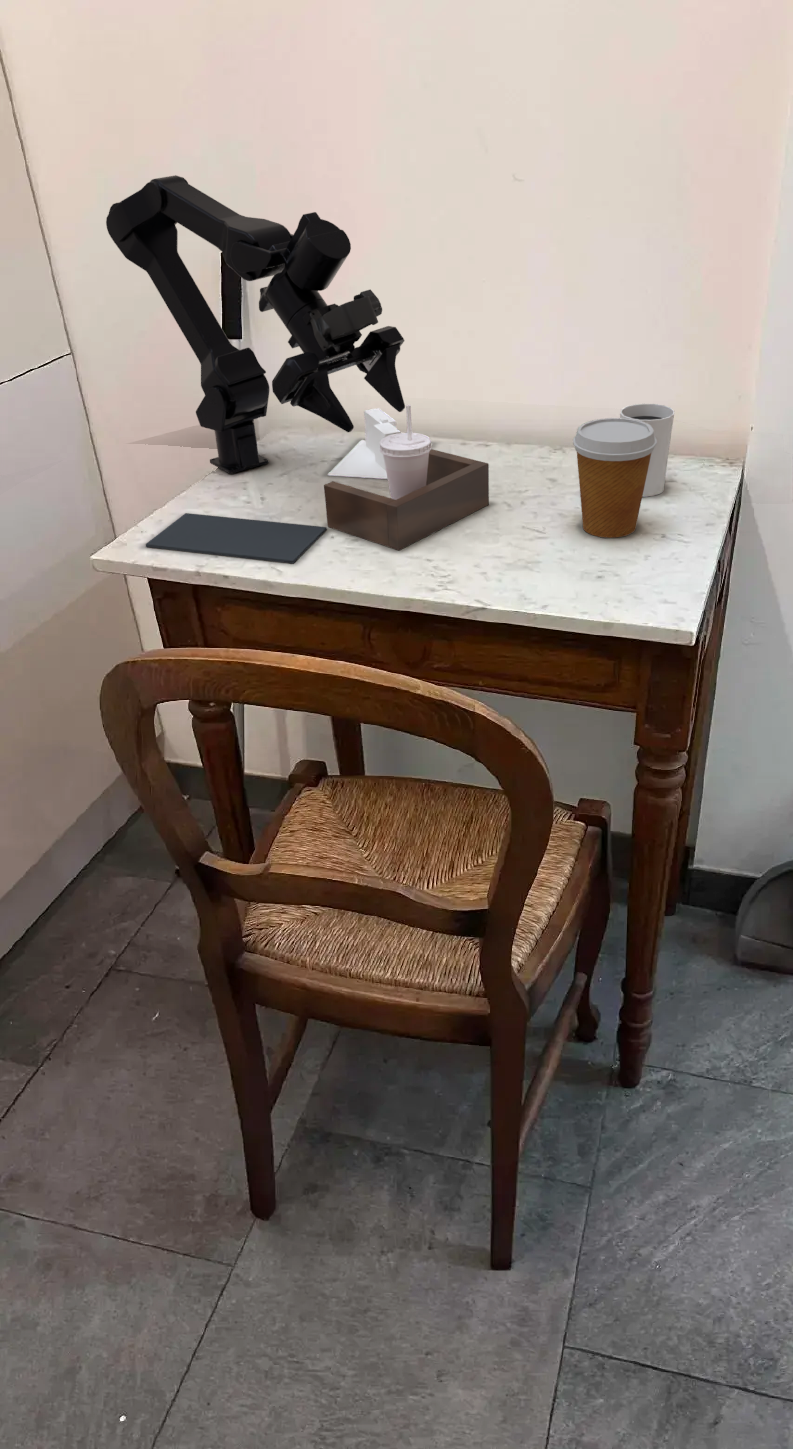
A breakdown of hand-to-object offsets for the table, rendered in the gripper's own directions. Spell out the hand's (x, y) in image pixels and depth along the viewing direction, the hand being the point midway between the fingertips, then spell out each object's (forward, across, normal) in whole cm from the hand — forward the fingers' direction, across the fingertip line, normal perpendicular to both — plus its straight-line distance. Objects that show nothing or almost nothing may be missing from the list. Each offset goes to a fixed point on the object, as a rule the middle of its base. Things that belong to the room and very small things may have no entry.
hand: (377, 419), depth 131 cm
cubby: (+11, 0, +5) cm, 12 cm away
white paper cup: (+25, +24, -8) cm, 36 cm away
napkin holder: (-1, +13, +17) cm, 22 cm away
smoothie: (+11, 0, +5) cm, 13 cm away
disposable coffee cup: (+27, +11, -11) cm, 31 cm away
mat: (+2, -18, +14) cm, 23 cm away
